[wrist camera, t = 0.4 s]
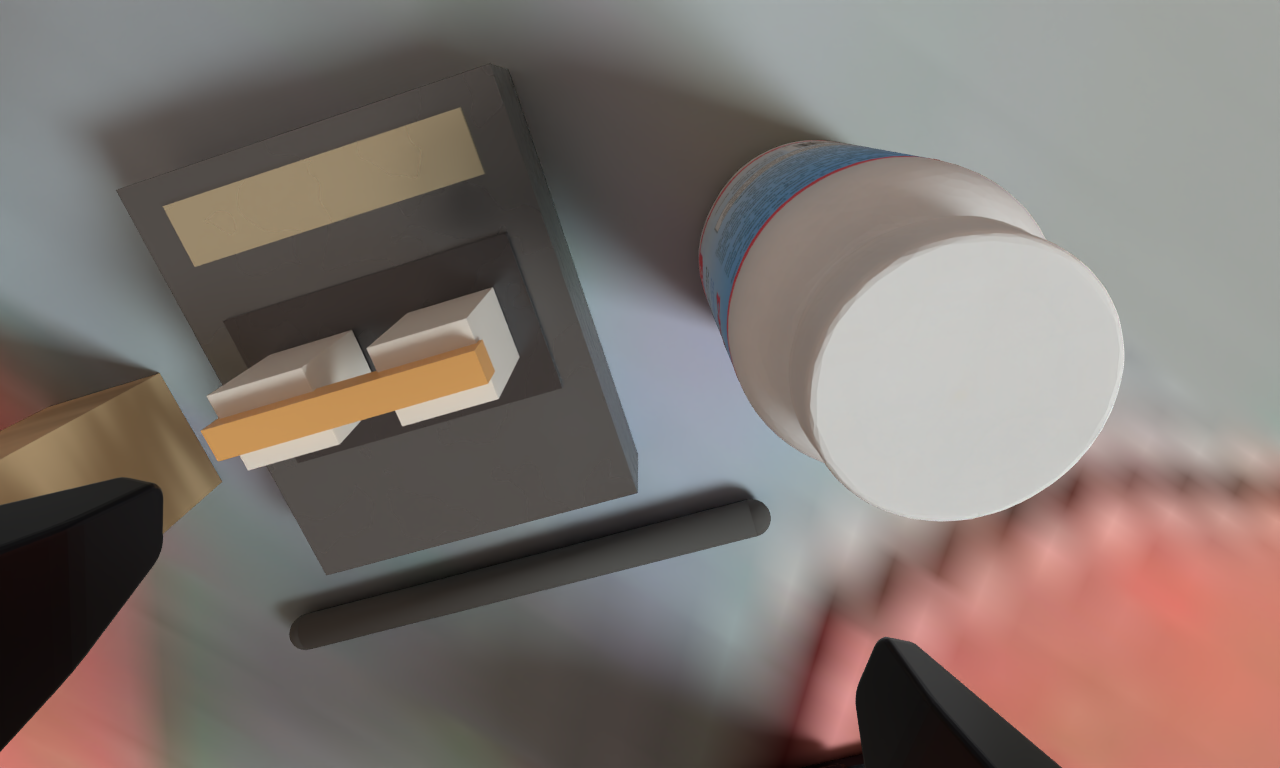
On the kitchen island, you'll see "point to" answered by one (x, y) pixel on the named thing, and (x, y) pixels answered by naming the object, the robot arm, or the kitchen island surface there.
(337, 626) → the dark gray rod
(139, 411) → the oak post
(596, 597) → the kitchen island surface
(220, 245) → the breaker panel
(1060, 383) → the pill bottle
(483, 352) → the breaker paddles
